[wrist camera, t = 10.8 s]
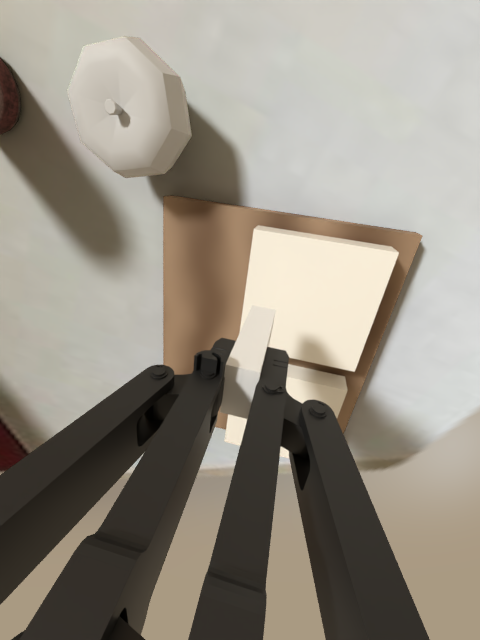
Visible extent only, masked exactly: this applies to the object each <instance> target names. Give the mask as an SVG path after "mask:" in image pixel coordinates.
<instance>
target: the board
mask: <svg viewBox="0 0 480 640" xmlns="http://www.w3.org/2000/svg"><path fill="white" fill-rule="evenodd" d="M258 225H260V226H266V227H272V228H278V229H285V230H291V231H297V232H303V233H310V234H316V235H322V236H329V237H335V238H341V239H347V240H354V241H360V242H366V243H372V244H379V245H385V246H391V247H393V248H394V249H395V250H397V251H398V252H399V254H398V257H397V260H396V262H395V265H394V268H393V270H392V273H391V276H390V278H389V281H388V284H387V287H386V289H385V292H384V295H383V297H382V300H381V303H380V305H379V308H378V311H377V313H376V316H375V319H374V321H373V324H372V327H371V329H370V332H369V335H368V337H367V340H366V343H365V346H364V348H363V351H362V354H361V356H360V359H359V362H358V364H357V367H356V370H355V372H353V371H349V370H344V369H339V368H335V367H330V366H325V365H321V364H316V363H312V362H307V361H302V360H298V359H293V358H289V362H288V364H290V365H295V366H299V367H304V368H308V369H313V370H317V371H322V372H327V373H331V374H336V375H340V376H345V379H346V385H347V390H348V391H347V393H346V396H345V399H344V401H343V404H342V407H341V409H340V412H339V415H338V418H337V421H338V423H339V426H340V428H341V430H342V433H343V434H344V431H345V429H346V426H347V424H348V421H349V419H350V416H351V414H352V411H353V409H354V406H355V404H356V401H357V399H358V396H359V394H360V391H361V389H362V386H363V384H364V381H365V379H366V376H367V374H368V371H369V369H370V366H371V364H372V361H373V359H374V356H375V354H376V351H377V349H378V346H379V344H380V341H381V339H382V336H383V333H384V331H385V328H386V326H387V323H388V321H389V318H390V316H391V313H392V311H393V308H394V306H395V303H396V301H397V298H398V296H399V293H400V291H401V288H402V286H403V283H404V281H405V278H406V276H407V273H408V271H409V268H410V266H411V263H412V261H413V258H414V256H415V253H416V251H417V248H418V246H419V243H420V241H421V238H422V235H420V234H418V233H416V232H410V231H403V230H396V229H390V228H383V227H377V226H370V225H363V224H357V223H350V222H344V221H337V220H330V219H324V218H317V217H311V216H304V215H298V214H291V213H284V212H278V211H271V210H265V209H258V208H251V207H245V206H238V205H232V204H225V203H218V202H212V201H205V200H199V199H192V198H185V197H179V196H172V195H170V196H163V295H164V365H166V366H169V367H170V368H172V369H173V371H174V375H184V374H191V373H192V372H193V370H194V355H195V354H196V353H198V352H200V351H204V350H211V348H212V347H213V345H214V343H215V341H217V340H219V339H220V338H226V339H230V340H235V341H236V340H237V338H238V336H239V332H240V325H241V318H242V311H243V303H244V296H245V289H246V282H247V274H248V267H249V260H250V252H251V245H252V238H253V231H254V228H255V227H257V226H258ZM220 407H221V406H220ZM227 419H228V414H225V413H221V412H220V409H219V411H218V417H217V422H216V425H215V427H218V428H222V429H226V426H227Z"/></svg>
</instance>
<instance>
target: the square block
mask: <svg viewBox="0 0 480 640" xmlns="http://www.w3.org/2000/svg"><path fill="white" fill-rule="evenodd" d="M286 390H287V392H288V394H289V395H290V396H291V397H292V398H293V399H295V400H297V401H299V402H301V403H304V402H305V401H307V400H313V399H314V400H319V401H321V402H324V403H326V404H327V405H328V406H329V407H331V409H332V410H333V412H334V414H335V416H336V418H338V415H339V412H340V409H341V407H342V404H343V401H344V399H345V396H346V393H347V391H348V390H347V385H346V379H345V376H340V375H336V374H331V373H327V372H322V371H317V370H313V369H308V368H304V367H299V366H295V365H290V364H288V371H287V380H286ZM246 423H247V419H245V418H241V417H237V416H233V415H229V414H228V419H227V426H226V433H225V441H224V442H228V443H232V444H236V445H239V446H241V442H242V438H243V434H244V430H245V426H246ZM280 456H281V457H285V458H289V451H288V450H286V449H285V448H283V447H280ZM289 459H290V458H289Z"/></svg>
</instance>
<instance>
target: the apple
mask: <svg viewBox="0 0 480 640" xmlns="http://www.w3.org/2000/svg"><path fill="white" fill-rule="evenodd" d="M67 94H68V97H69V101H70V105H71V108H72V112H73V116H74V119H75V123H76V127H77V131H78V134H79V138H80V142H81V143H82V144H84V145H85V146H86V147H87V148H88V149H89V150H90V151H91V152H93V153H94V154H95V155H96V156H97V157H98V158H99V159H100V160H102V161H103V162H104V163H105V164H106V165H107V166H108V167H110V168H111V169H112V170H113V171H114V172H116V173H118V174H120V175H121V176H123V177H125V178H131V177H141V176H151V175H160V174H165V173H166V172H167V171H168V170H169V169H171V168H172V167H173V165H174V164H175V162H176V161H177V159H178V157H179V156H180V154H181V153H182V151H183V149H184V148H185V146H186V145H187V143H188V141H189V140H190V138H191V137H192V133H191V127H190V120H189V113H188V106H187V100H186V93H185V90H184V87H183V84H182V81H181V78H180V76H179V75H178V74H177V73H176V72H175V71H174V70H173V69H171V68H170V67H169V66H168V65H167V64H166V63H165V62H164V61H163V60H162V59H161V58H160V57H159V56H158V55H157V54H156V53H155V52H154V51H153V50H152V49H151V48H150V47H149V46H148V45H147V44H146V43H145V42H144V41H143V40H142V39H141V38H135V37H127V36H123V37H119V38H115V39H111V40H106V41H102V42H98V43H93V44H89V45H85V46H83V49H82V51H81V54H80V57H79V60H78V62H77V65H76V68H75V71H74V73H73V76H72V79H71V82H70V84H69V87H68V90H67Z"/></svg>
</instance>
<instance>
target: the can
mask: <svg viewBox="0 0 480 640" xmlns="http://www.w3.org/2000/svg"><path fill="white" fill-rule="evenodd" d="M20 111H21V98H20V94H19V90H18V86H17V84H16V81H15V79H14V77H13V75H12V73H11V72H10V70H9V69H8V67H7V66H6V65H5V63H4V62H3V61H2V60H1V58H0V134H3V133H5V132H7V131H9V130H10V129H12V128H13V127H14V125H15V124H16V122H17V121H18V119H19V115H20Z"/></svg>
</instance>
